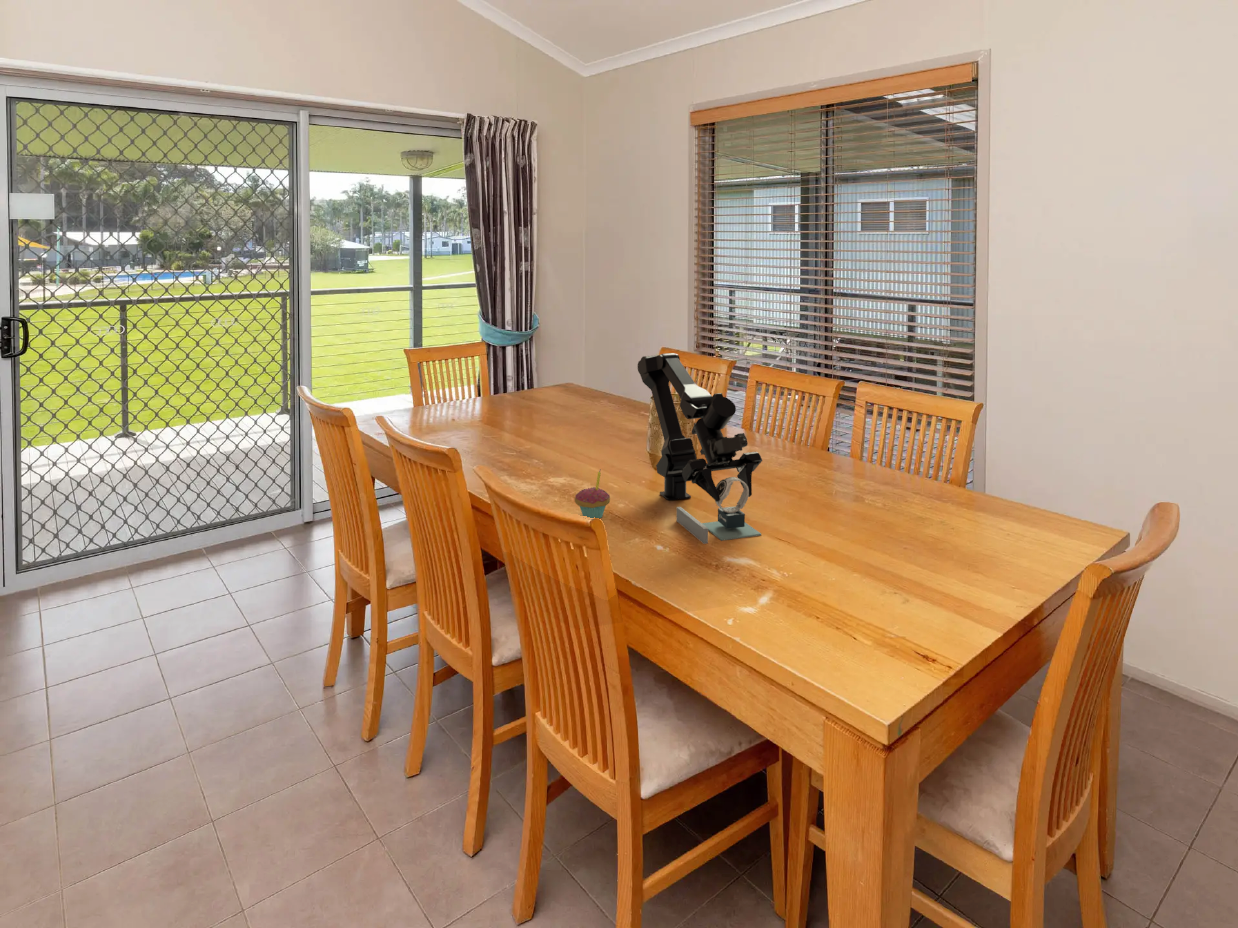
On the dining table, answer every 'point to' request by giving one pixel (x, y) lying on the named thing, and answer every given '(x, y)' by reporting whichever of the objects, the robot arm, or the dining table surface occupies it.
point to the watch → (731, 515)
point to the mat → (730, 531)
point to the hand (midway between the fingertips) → (734, 498)
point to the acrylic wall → (692, 525)
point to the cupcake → (592, 500)
